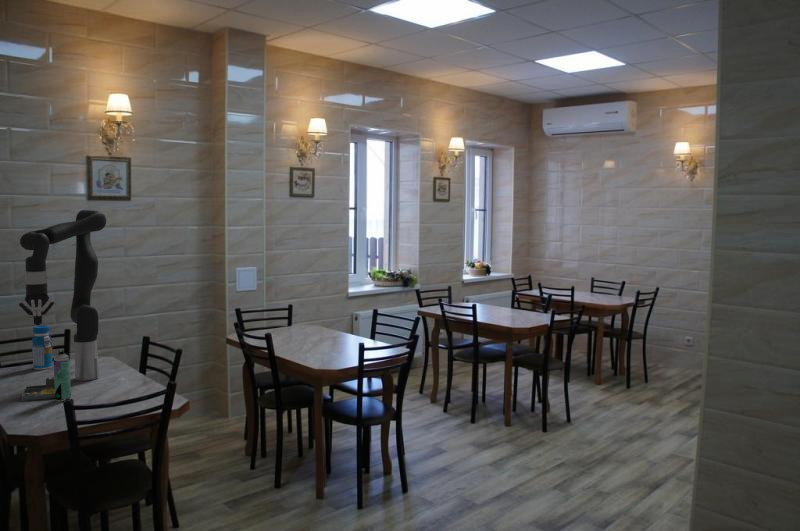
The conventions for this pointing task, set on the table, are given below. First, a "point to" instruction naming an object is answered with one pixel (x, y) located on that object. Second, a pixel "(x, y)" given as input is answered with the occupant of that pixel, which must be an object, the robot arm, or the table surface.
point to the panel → (38, 393)
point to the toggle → (50, 382)
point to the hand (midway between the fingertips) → (38, 324)
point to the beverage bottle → (42, 348)
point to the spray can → (62, 376)
